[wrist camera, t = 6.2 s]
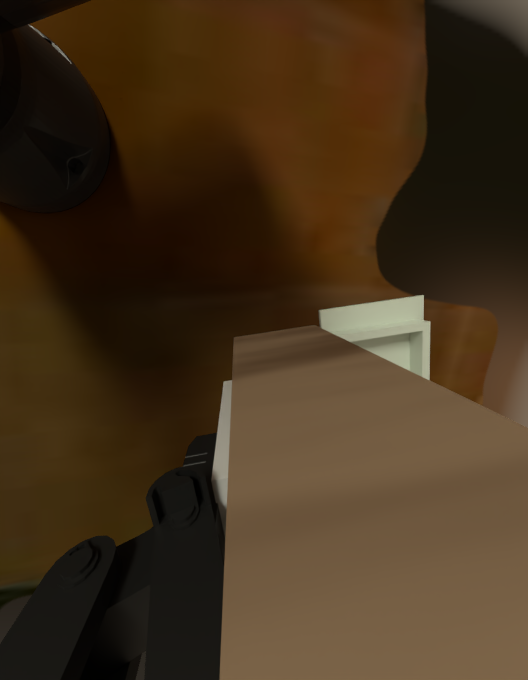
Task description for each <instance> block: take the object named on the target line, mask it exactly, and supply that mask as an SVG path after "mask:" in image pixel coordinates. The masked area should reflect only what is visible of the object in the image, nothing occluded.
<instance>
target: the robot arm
mask: <svg viewBox="0 0 528 680" xmlns="http://www.w3.org/2000/svg"><path fill="white" fill-rule="evenodd" d="M88 1H91V0H0V202H3V203H6V204H8V205H11V206H14V207H17V208H19V209H23V210H27V211H32V212H40V213H51V212H59V211H63V210H67V209H70V208H72V207H74V206H76V205H78V204H80V203H82V202H83V201H84V200H86V199H87V198H88V197H89V196H90V195H91V194H92V193H93V192H94V191H95V190H96V189H97V187H98V186H99V184H100V183H101V181H102V179H103V177H104V175H105V172H106V169H107V166H108V162H109V156H110V136H109V129H108V124H107V120H106V117H105V114H104V111H103V109H102V106H101V104H100V102H99V100H98V98H97V96H96V94H95V92H94V91H93V89H92V88H91V86H90V85H89V84H88V82H87V81H86V79H85V78H84V77H83V75H82V74H81V72H80V71H79V70H78V68H77V67H76V66H75V64H74V63H73V62H72V61H71V59H70V58H69V57H68V56H67V55H66V54H65V53H64V52H63V51H62V50H61V49H60V48H59V47H58V46H57V45H56V44H55V43H54V42H53V41H51V40H50V39H49V38H48V37H46V36H45V35H44V34H42V33H41V32H40V31H38V30H37V29H35V28H34V27H32V26H31V25H29V24H30V23H33V22H36V21H38V20H41V19H43V18H46V17H49V16H51V15H54V14H57V13H59V12H62V11H64V10H67V9H70V8H72V7H75V6H78V5H80V4H83V3H85V2H88ZM231 393H232V380H230V381H224V384H223V392H222V400H221V408H220V416H219V424H218V432H217V433H213V434H208V435H202V436H197V437H196V438H195V439H194V440H193V442H192V443H191V444H190V445H189V447H188V450H187V454H186V458H185V460H184V464H183V467H180V468H176V469H173V470H171V471H169V472H167V473H165V474H164V475H163V476H161V477H160V478H159V479H157V480H156V481H155V482H154V484H153V485H152V486H151V487H150V489H149V491H148V493H147V496H146V501H147V504H148V508H149V511H150V515H151V518H152V522H153V525H154V526H153V527H152V528H151V529H150V530H148V531H146V532H145V533H143V534H141V535H139V536H137V537H135V538H133V539H131V540H129V541H127V542H125V543H123V544H121V545H119V546H117V547H116V545H115V542H114V540H113V539H111V538H110V537H108V536H96V537H93V538H90V539H87V540H85V541H83V542H81V543H79V544H78V545H76V546H75V547H73V548H71V549H70V550H69V551H67V552H66V553H65V554H64V555H63V556H62V557H61V558H60V559H58V560H57V561H56V562H55V564H54V565H53V566H52V567H51V569H50V570H49V571H48V572H47V573H46V575H45V576H44V578H43V579H42V581H41V582H40V584H39V585H38V587H37V588H36V590H35V591H34V593H33V594H32V596H31V598H30V599H29V601H28V602H27V604H26V605H25V607H24V608H23V610H22V611H21V613H20V614H19V616H18V618H17V619H16V621H15V622H14V624H13V625H12V627H11V628H10V630H9V631H8V633H7V634H6V636H5V637H4V639H3V641H2V642H1V644H0V680H135V679H136V676H137V671H138V667H139V663H140V659H141V655H142V653H143V652H144V651H146V663H145V679H144V680H220V657H221V633H222V609H223V585H224V561H225V537H226V513H227V489H228V465H229V441H230V417H231Z"/></svg>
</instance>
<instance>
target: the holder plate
mask: <svg viewBox="0 0 528 680" xmlns="http://www.w3.org/2000/svg"><path fill="white" fill-rule="evenodd" d="M423 316H424V296H423V295H419V296H412V297H405V298H398V299H391V300H385V301H378V302H371V303H364V304H357V305H350V306H343V307H336V308H329V309H323V310H319V322H320V328H322V329H324V330H326V331H328V332H330V333H332V334H334V335H336V336H339V337H341V338H343V339H345V340H347V341H349V342H351V343H353V344H355V345H357V346H359V347H361V348H363V349H365V350H367V351H370V352H372V353H374V354H376V355H378V356H380V357H382V358H384V359H386V360H388V361H390V362H392V363H394V364H396V365H398V366H401V367H403V368H405V369H407V370H409V371H411V372H413V373H415V374H417V375H419V376H421V377H423V378H425V379H427V380H429V374H430V321H425V320H423Z"/></svg>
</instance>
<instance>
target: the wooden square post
mask: <svg viewBox="0 0 528 680" xmlns="http://www.w3.org/2000/svg"><path fill="white" fill-rule="evenodd" d="M220 680H528V428H527V427H524V426H522V425H520V424H518V423H516V422H514V421H512V420H510V419H508V418H506V417H504V416H502V415H500V414H498V413H496V412H493V411H491V410H489V409H487V408H485V407H483V406H481V405H479V404H477V403H475V402H473V401H471V400H469V399H467V398H465V397H463V396H460V395H458V394H456V393H454V392H452V391H450V390H448V389H446V388H444V387H442V386H440V385H438V384H436V383H434V382H432V381H429V380H427V379H425V378H423V377H421V376H419V375H417V374H415V373H413V372H411V371H409V370H407V369H405V368H403V367H401V366H398V365H396V364H394V363H392V362H390V361H388V360H386V359H384V358H382V357H380V356H378V355H376V354H374V353H372V352H370V351H367V350H365V349H363V348H361V347H359V346H357V345H355V344H353V343H351V342H349V341H347V340H345V339H343V338H341V337H339V336H336V335H334V334H332V333H330V332H328V331H326V330H324V329H322V328H320V327H318V326H316V325H312V326H305V327H299V328H292V329H285V330H279V331H272V332H265V333H259V334H252V335H245V336H239V337H234V345H233V369H232V393H231V417H230V441H229V465H228V489H227V513H226V537H225V561H224V585H223V609H222V633H221V657H220Z"/></svg>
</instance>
